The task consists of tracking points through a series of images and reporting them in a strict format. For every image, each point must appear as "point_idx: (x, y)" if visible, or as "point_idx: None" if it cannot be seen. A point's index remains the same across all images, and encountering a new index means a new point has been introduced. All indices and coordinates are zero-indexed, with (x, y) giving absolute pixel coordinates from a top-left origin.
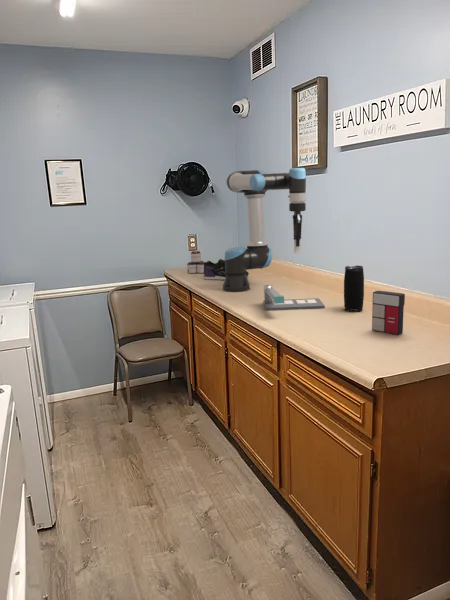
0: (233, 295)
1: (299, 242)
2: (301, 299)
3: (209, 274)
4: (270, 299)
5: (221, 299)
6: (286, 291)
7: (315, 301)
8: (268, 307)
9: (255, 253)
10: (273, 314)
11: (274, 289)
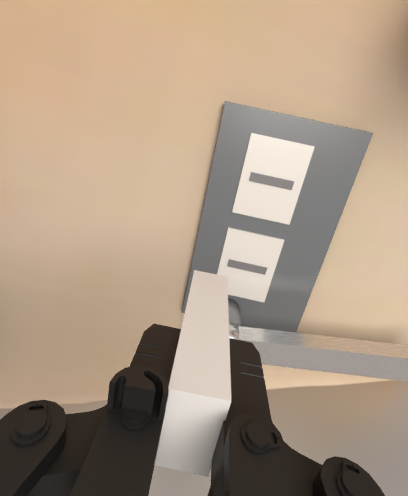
0: (48, 356)
1: (225, 368)
2: (219, 183)
3: None
4: (239, 314)
5: (97, 395)
6: (11, 172)
7: (290, 144)
8: (291, 327)
9: None
10: (351, 326)
11: (298, 346)
